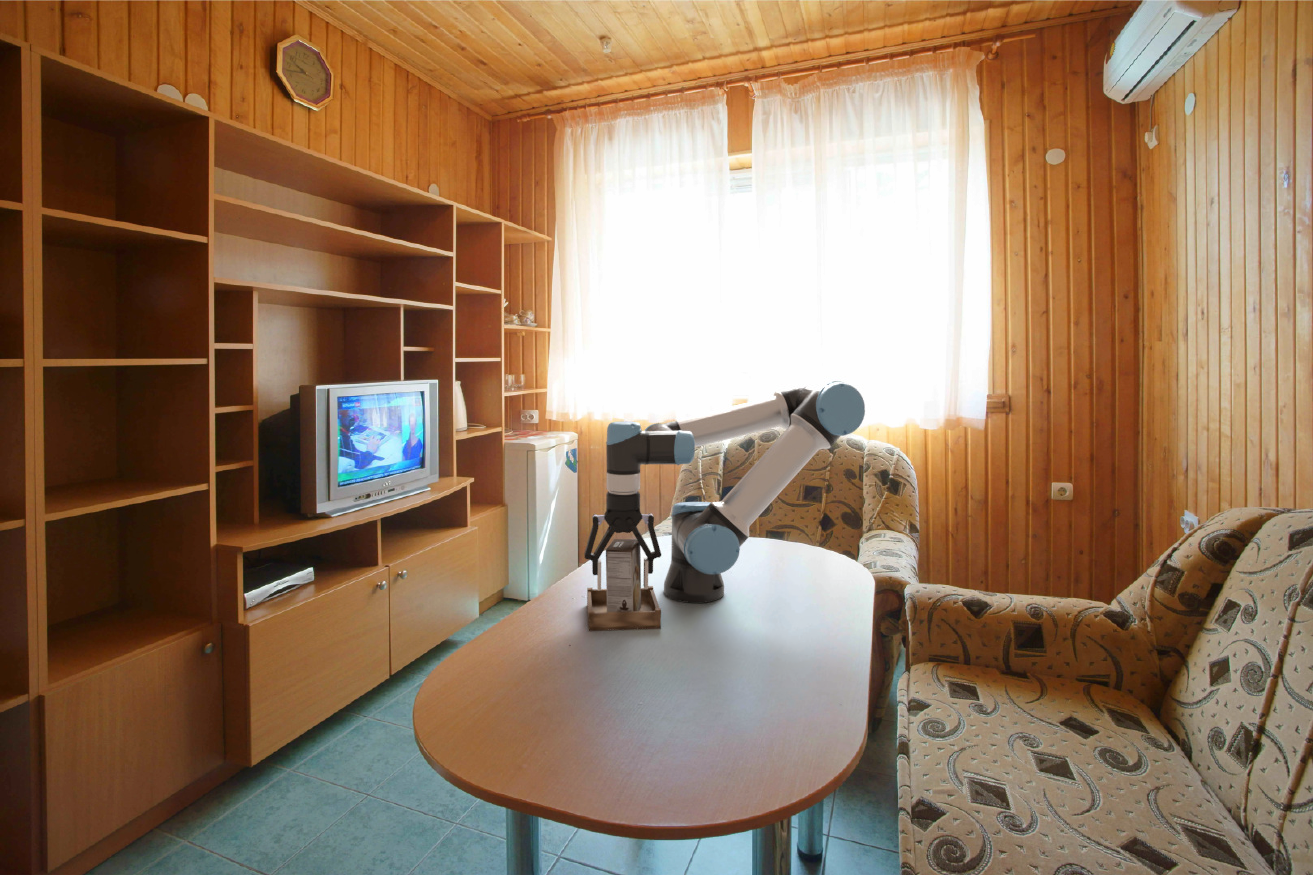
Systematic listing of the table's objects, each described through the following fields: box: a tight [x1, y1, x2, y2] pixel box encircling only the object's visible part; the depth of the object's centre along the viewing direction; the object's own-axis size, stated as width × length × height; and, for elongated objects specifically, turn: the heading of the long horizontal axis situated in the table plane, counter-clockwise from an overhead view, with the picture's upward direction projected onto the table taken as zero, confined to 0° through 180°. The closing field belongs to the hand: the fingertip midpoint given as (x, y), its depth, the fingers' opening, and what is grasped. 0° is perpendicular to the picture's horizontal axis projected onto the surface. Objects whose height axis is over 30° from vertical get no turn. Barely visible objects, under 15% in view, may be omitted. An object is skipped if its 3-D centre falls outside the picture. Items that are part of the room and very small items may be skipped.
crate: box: [586, 585, 662, 632], centre depth 154 cm, size 16×16×4 cm
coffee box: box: [605, 538, 642, 612], centre depth 154 cm, size 9×6×16 cm
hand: (622, 587), depth 154 cm, fingers open, 10 cm apart
